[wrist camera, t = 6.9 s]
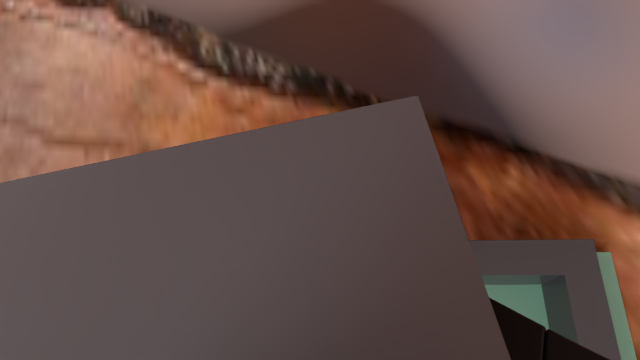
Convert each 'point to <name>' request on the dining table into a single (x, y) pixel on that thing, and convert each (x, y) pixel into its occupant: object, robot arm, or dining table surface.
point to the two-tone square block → (249, 250)
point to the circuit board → (559, 289)
